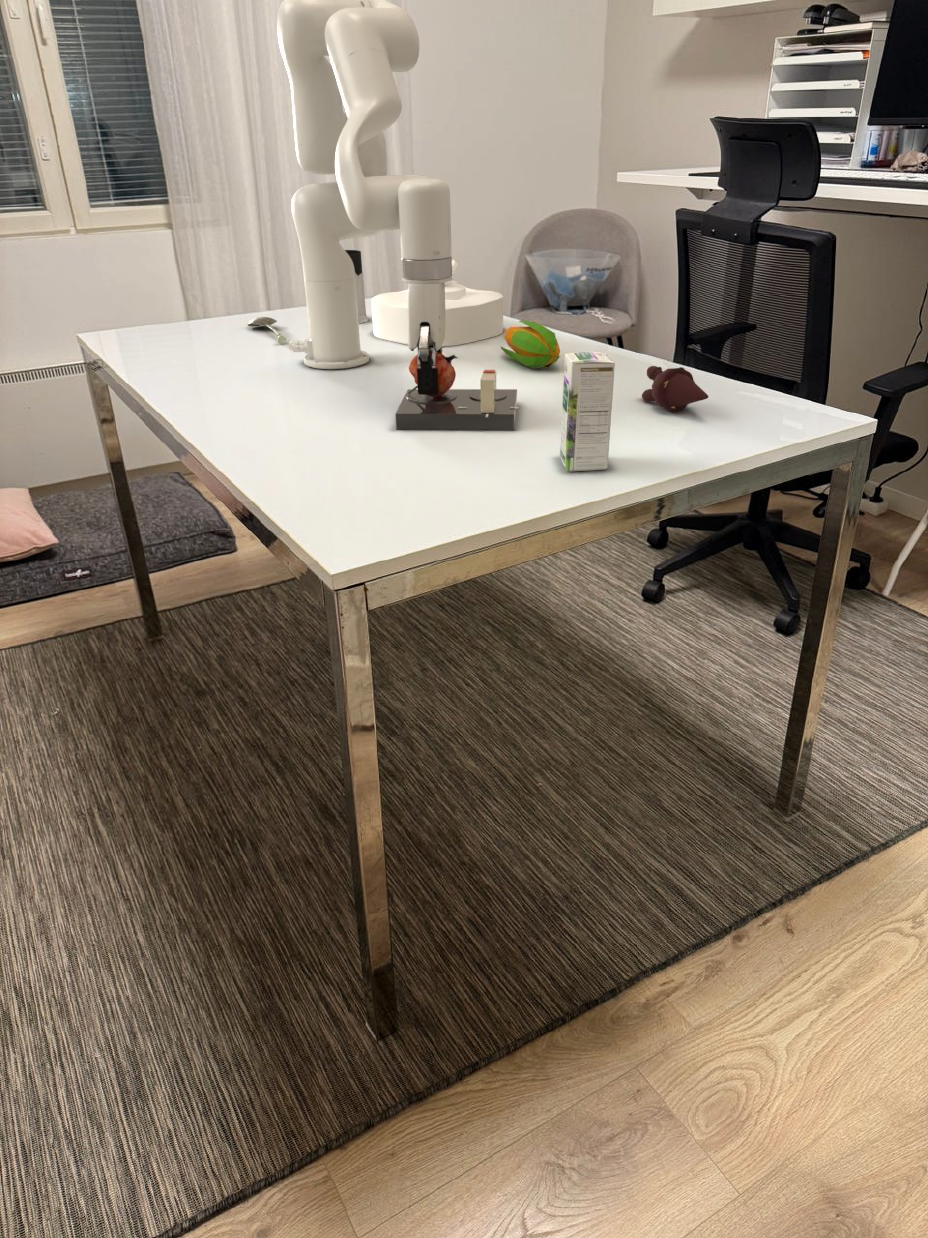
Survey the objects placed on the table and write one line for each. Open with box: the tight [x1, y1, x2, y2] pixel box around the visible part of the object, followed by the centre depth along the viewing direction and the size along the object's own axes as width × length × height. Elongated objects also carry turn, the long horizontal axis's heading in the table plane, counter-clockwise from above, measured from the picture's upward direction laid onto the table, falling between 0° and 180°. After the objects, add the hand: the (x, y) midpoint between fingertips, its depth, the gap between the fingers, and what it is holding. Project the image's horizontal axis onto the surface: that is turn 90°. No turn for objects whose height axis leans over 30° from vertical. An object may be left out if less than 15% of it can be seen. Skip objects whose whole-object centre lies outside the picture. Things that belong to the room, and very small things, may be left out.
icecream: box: [641, 365, 709, 413], centre depth 145 cm, size 7×7×15 cm
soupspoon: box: [247, 316, 287, 345], centre depth 203 cm, size 22×3×7 cm
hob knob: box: [479, 369, 497, 413], centre depth 140 cm, size 5×2×5 cm, turn 174°
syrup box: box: [559, 351, 616, 472], centre depth 122 cm, size 6×6×14 cm
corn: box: [500, 319, 561, 370], centre depth 175 cm, size 7×8×20 cm
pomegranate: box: [408, 352, 459, 397], centre depth 146 cm, size 7×7×10 cm
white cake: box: [370, 259, 504, 348], centre depth 198 cm, size 25×25×16 cm
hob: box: [395, 388, 520, 431], centre depth 145 cm, size 19×16×3 cm
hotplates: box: [407, 390, 507, 404], centre depth 147 cm, size 16×8×1 cm, turn 85°
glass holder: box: [344, 249, 369, 324], centre depth 214 cm, size 9×14×15 cm, turn 171°
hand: (431, 386), depth 147 cm, fingers closed on pomegranate, 7 cm apart
